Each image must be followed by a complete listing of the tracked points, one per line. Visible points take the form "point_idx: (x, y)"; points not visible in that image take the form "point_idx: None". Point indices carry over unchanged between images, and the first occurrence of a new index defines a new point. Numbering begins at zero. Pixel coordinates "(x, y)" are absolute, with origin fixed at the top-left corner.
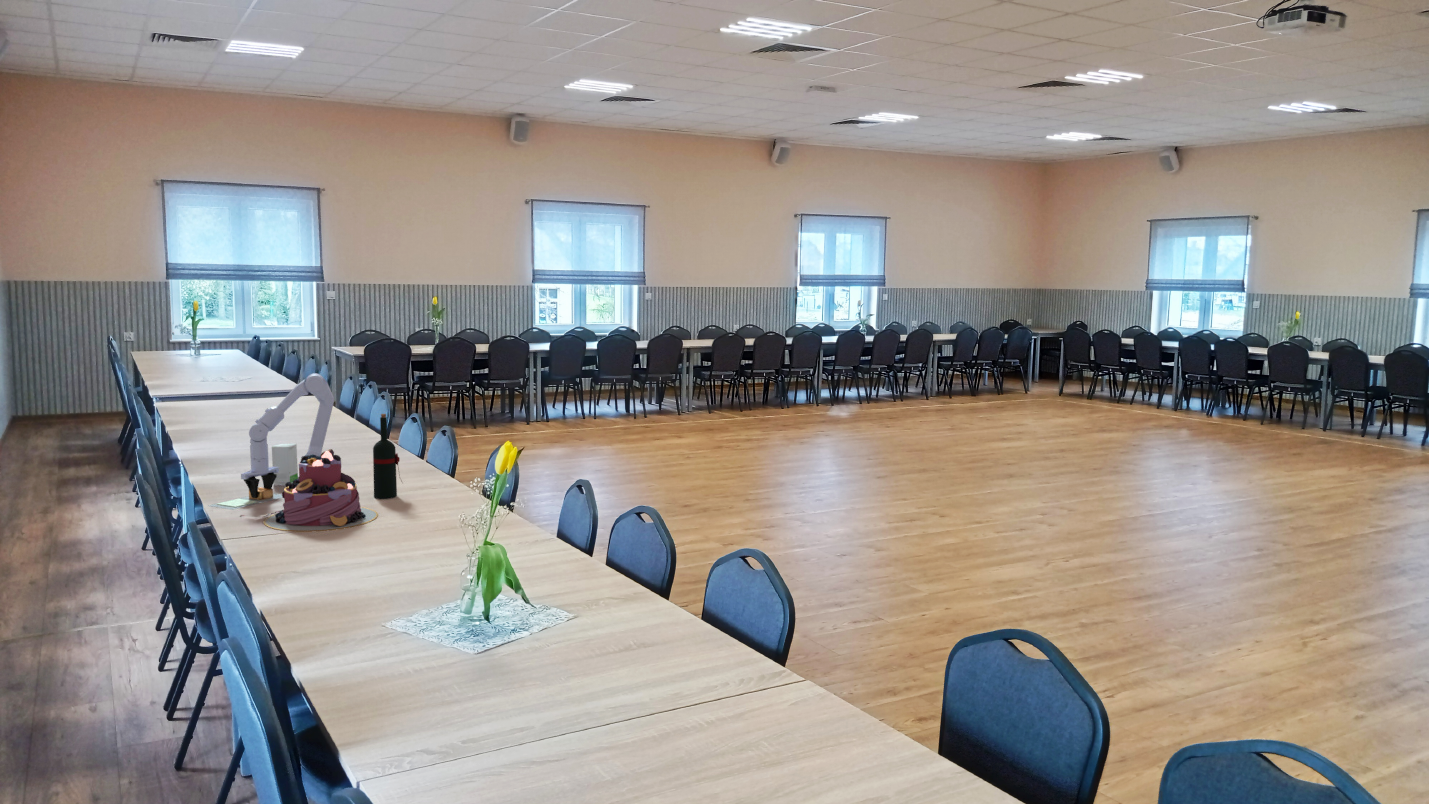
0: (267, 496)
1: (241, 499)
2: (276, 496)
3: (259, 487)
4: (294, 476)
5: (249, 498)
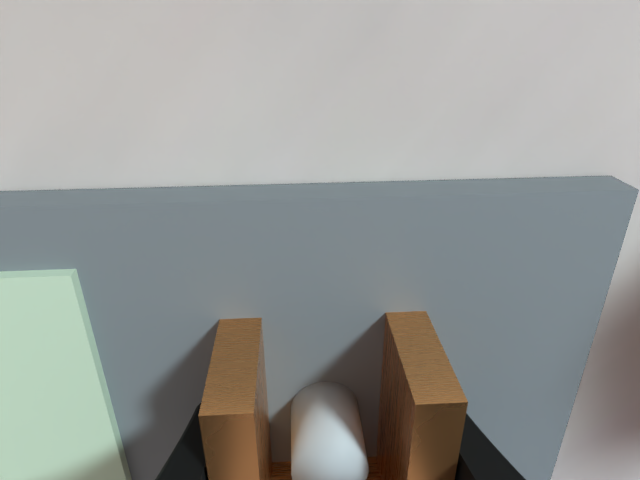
0: None
1: (68, 345)
2: None
3: (446, 404)
4: None
5: (216, 330)
